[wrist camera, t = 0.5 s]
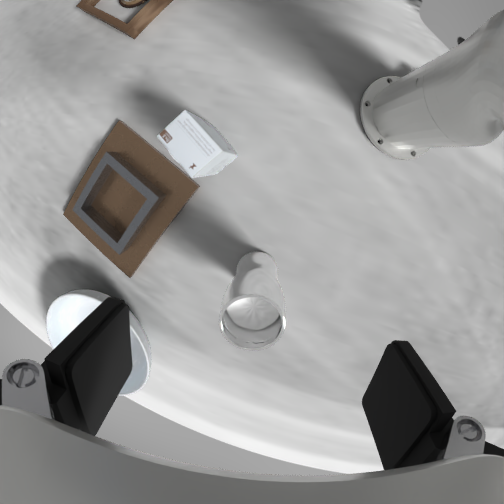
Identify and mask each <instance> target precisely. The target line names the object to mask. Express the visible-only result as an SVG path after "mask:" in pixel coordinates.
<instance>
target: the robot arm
mask: <svg viewBox="0 0 504 504" xmlns="http://www.w3.org/2000/svg"><path fill="white" fill-rule="evenodd" d="M387 81H388V82H389V83H388V82H387ZM365 103H366V104H367V106H366V105H365ZM360 117H361V121H362V125H363V128H364V130H365V132H366V134H367V136H368V137H369V139H370V141H371V142H372V143H373V144H374V145H375V146H376V147H377V148H378V149H379V150H380V151H381V152H383V153H384V154H386V155H388V156H390V157H393V158H396V159H401V160H411V159H416V158H418V157H420V156H422V155H424V154H425V153H426V152H427V151H428V150H429V149H430V148H436V147H469V146H482V145H486V144H488V143H490V142H492V141H493V140H495V139H496V138H497V137H498V136H499V135H500V134H501V133H502V131H503V130H504V10H502V11H500V12H498V13H497V14H495V15H494V16H493V17H491V18H490V19H489V20H487V21H486V22H485V23H484V24H483V25H482V26H481V27H480V28H479V29H478V30H477V31H475V32H474V33H473V34H472V35H471V36H470V37H469V38H467V39H466V40H465V41H464V42H462V43H461V44H459V45H458V46H456V47H455V48H453V49H451V50H450V51H448V52H446V53H445V54H443V55H441V56H439V57H437V58H435V59H434V60H432V61H430V62H428V63H426V64H425V65H423V66H421V67H419V68H418V69H416V70H414V71H412V72H411V73H409V74H407V75H405V76H404V77H398V76H386V77H382V78H380V79H378V80H376V81H374V82H373V83H372V84H371V85H370V86H369V87H368V88H367V89H366V91H365V92H364V94H363V96H362V99H361V105H360ZM377 140H379V143H378V141H377ZM411 153H412V155H411ZM132 367H133V363H132V351H131V337H130V318H129V307H128V305H125V302H124V301H123V300H120V299H116V298H112V297H108V298H106V299H105V300H104V301H103V302H102V303H101V304H100V305H99V306H98V307H97V308H96V309H95V310H94V311H92V312H91V313H90V314H89V315H88V316H87V317H86V318H85V319H84V320H83V321H82V322H81V323H80V324H79V325H78V326H77V327H76V328H75V329H74V330H73V331H72V332H71V333H70V334H69V335H68V336H67V337H66V338H64V339H63V340H62V341H61V342H60V343H59V344H58V345H57V346H56V347H55V348H54V349H53V351H52V352H51V353H50V354H49V355H48V356H47V357H46V358H45V361H44V362H43V363H42V364H41V365H40V364H39V363H37V362H36V361H33V360H30V359H20V360H16V361H14V362H12V363H10V364H9V365H8V366H7V367H6V368H5V369H4V371H3V375H2V379H0V504H504V449H502V448H499V447H497V446H495V445H493V444H490V443H488V442H486V441H485V430H484V427H483V426H482V425H481V423H480V422H478V421H477V420H476V419H474V418H472V417H469V416H460V417H457V418H456V419H455V420H453V418H452V417H453V415H454V414H455V412H456V410H455V409H454V407H453V406H452V404H451V402H450V401H449V399H448V398H447V396H446V395H445V393H444V392H443V390H442V389H441V387H440V386H439V384H438V383H437V381H436V380H435V378H434V377H433V376H432V374H431V373H430V371H429V370H428V368H427V367H426V365H425V364H424V363H423V361H422V360H421V358H420V357H419V356H418V354H417V353H416V351H415V350H414V349H413V347H412V346H411V344H410V343H409V342H408V341H397V340H394V341H393V342H392V343H391V344H388V345H387V347H386V349H385V351H384V354H383V356H382V358H381V361H380V363H379V365H378V367H377V369H376V371H375V374H374V376H373V378H372V380H371V382H370V384H369V386H368V388H367V390H366V392H365V394H364V396H363V399H362V405H363V408H364V411H365V414H366V417H367V420H368V423H369V425H370V428H371V431H372V434H373V437H374V440H375V443H376V446H377V449H378V452H379V455H380V458H381V462H382V465H383V468H384V470H383V471H375V472H367V473H356V474H343V475H317V476H296V475H272V474H257V473H246V472H238V471H230V470H223V469H216V468H210V467H204V466H199V465H193V464H188V463H184V462H179V461H174V460H170V459H166V458H162V457H158V456H155V455H151V454H147V453H144V452H141V451H137V450H134V449H131V448H128V447H125V446H121V445H118V444H115V443H112V442H109V441H106V440H103V439H101V438H98V437H95V435H96V434H97V432H98V430H99V428H100V426H101V425H102V422H103V421H104V419H105V417H106V415H107V414H108V412H109V410H110V408H111V407H112V405H113V403H114V402H115V400H116V398H117V396H118V395H119V393H120V391H121V389H122V388H123V386H124V384H125V382H126V381H127V379H128V377H129V376H130V374H131V371H132Z"/></svg>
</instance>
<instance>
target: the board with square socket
mask: <svg viewBox="0 0 504 504" xmlns="http://www.w3.org/2000/svg"><path fill="white" fill-rule="evenodd" d="M199 187H200V186H199V185H198V184H197V183H196V182H194V181H193V180H192V179H191V178H190V177H188V176H187V175H186V174H185V173H184V172H183V171H181V170H180V169H179V168H178V167H177V166H175V165H174V164H173V163H172V162H171V161H169V160H168V159H167V158H166V157H165V156H163V155H162V154H161V153H160V152H159V151H157V150H156V149H155V148H154V147H153V146H151V145H150V144H149V143H148V142H147V141H145V140H144V139H143V138H142V137H141V136H139V135H138V134H137V133H136V132H134V131H133V130H132V129H131V128H130V127H128V126H127V125H126V124H125V123H124V122H122V121H118V123H117V124H116V125H115V127H114V128H113V130H112V131H111V133H110V134H109V136H108V137H107V139H106V140H105V142H104V143H103V145H102V146H101V148H100V149H99V151H98V153H97V154H96V156H95V157H94V159H93V161H92V162H91V164H90V166H89V167H88V169H87V171H86V173H85V174H84V176H83V178H82V180H81V181H80V183H79V185H78V187H77V189H76V190H75V192H74V194H73V196H72V198H71V200H70V202H69V204H68V206H67V208H66V210H65V212H64V214H63V215H64V216H65V217H66V218H67V219H68V220H69V221H70V222H71V223H72V224H73V225H74V226H75V227H76V228H77V229H78V230H79V231H80V232H81V233H82V234H83V235H84V236H85V237H86V238H87V239H88V240H89V241H90V242H91V243H92V244H93V245H94V246H96V247H97V248H98V249H99V250H100V251H101V252H102V253H103V254H104V255H105V256H106V257H107V258H108V259H109V260H110V261H112V262H113V263H114V264H115V265H116V266H117V267H118V268H119V269H120V270H121V271H123V272H124V273H125V274H126V275H127V276H128V277H129V278H131V277H132V276H133V274H134V273H135V271H136V270H137V269H138V267H139V266H140V264H141V263H142V262H143V260H144V259H145V257H146V256H147V255H148V253H149V252H150V250H151V249H152V248H153V246H154V245H155V244H156V242H157V241H158V239H159V238H160V237H161V235H162V234H163V233H164V231H165V230H166V229H167V227H168V226H169V225H170V224H171V222H172V221H173V220H174V218H175V217H176V216H177V214H178V213H179V212H180V211H181V209H182V208H183V207H184V205H185V204H186V203H187V202H188V200H189V199H190V198H191V197H192V195H193V194H194V193H195V192H196V190H197V189H198V188H199Z"/></svg>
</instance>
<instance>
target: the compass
mask: <svg viewBox="0 0 504 504" xmlns="http://www.w3.org/2000/svg"><path fill="white" fill-rule="evenodd" d="M145 1H147V0H119V3H120V4H121V5H122V6H123V7H125V8H133V7H136V6H139V5H141V4H143V3H144V2H145Z"/></svg>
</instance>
